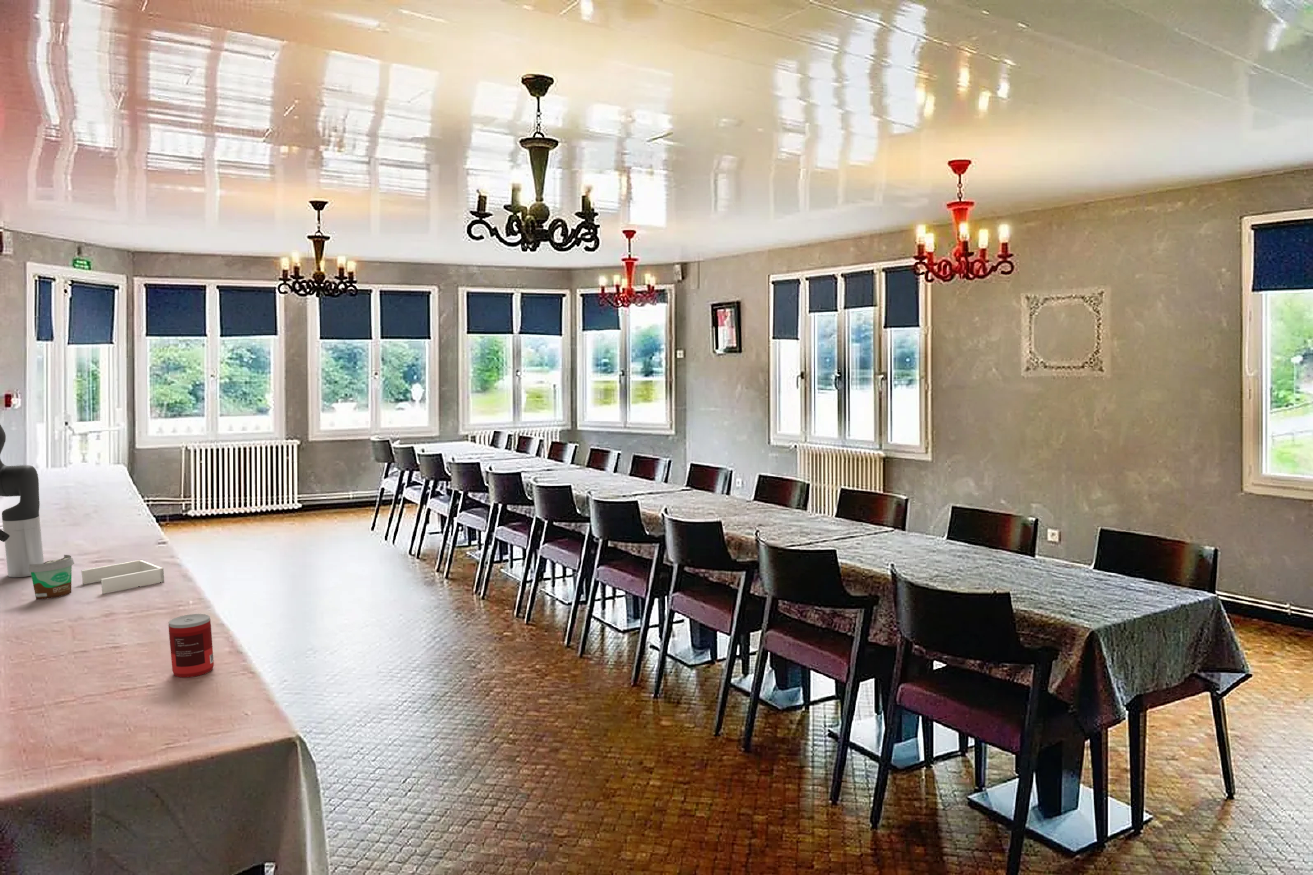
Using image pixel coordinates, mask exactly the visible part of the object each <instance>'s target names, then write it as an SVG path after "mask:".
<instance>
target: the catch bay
mask: <svg viewBox="0 0 1313 875" xmlns="http://www.w3.org/2000/svg"><path fill="white" fill-rule="evenodd" d="M81 578H82V580H81V581H82V585H87V584H88V585H89V584H92V583H97V582H98V583H99V582H100V584H101V594H103V595H104V594H109V593H114V592H120V591H125V590H129V589H135V588H139V587H138V586H140V587H145V586H150V585H151V586H152V585H155V584H161V583H165V575H164V567H161V566H159V565H156V564H154V563H151V562H147V561H145V560H142V559H138V560H132V561H127V562H122V563H116V564H109V565H104V566H98V567H94V568H88V569H87V568H86V569H82V570H81ZM160 582H161V583H160Z"/></svg>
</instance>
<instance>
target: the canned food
mask: <svg viewBox="0 0 1313 875" xmlns="http://www.w3.org/2000/svg"><path fill="white" fill-rule="evenodd" d="M211 622H212V621H211V616H210V615H208V614H205V613H191V614H184V615H181V616H177V617H174V618H171V619H170V620H169V621H168V625H167V626H168V636H169V648H170V659H171V670H172V673H173V675H174V676H175V677H177V678H187V679H188V678H195V677H200V676H203V675H206V674H208V673H210V672H211V671H212V670H213V668H214V664H215V663H214V662H215V661H214V650H213V648H214V647H213V635H212V624H211Z"/></svg>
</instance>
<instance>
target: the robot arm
mask: <svg viewBox="0 0 1313 875" xmlns="http://www.w3.org/2000/svg"><path fill="white" fill-rule="evenodd" d="M6 436H7V435H6V431H5V430H4V428H3V427H2V424H0V455H1V453H2V451H3V449H4V446H5V444H6V440H7V438H6ZM39 479H40V478H39V474H38V471H37V469H36V467H34V466H33V465H29V464H26V465H25V464H23V465H21V464H20V465H5V464H4V463H3V461H2V459H1V458H0V497H5V498H6V497H9V498H11V497H19V502H18V503H17V504H15V505H14V506H11V507H9V508H6V509H4V510H2V511H1V520H2V529H3V530H2V529H0V541H1V542H3V543H4V548H5V549H4V550H5V560H6V570H7V577H8V578H23V577H32V576H31V572H29V567H30V565H29V564H43V563H45V561H44V550H43V541H42V531H41V530H42V528H41V522H40V521H41V519H40V504H41V503H40V483H39V482H40V481H39Z"/></svg>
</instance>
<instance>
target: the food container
mask: <svg viewBox="0 0 1313 875" xmlns="http://www.w3.org/2000/svg"><path fill="white" fill-rule="evenodd" d="M29 565H30V567H29V572H31V576H30V577H31V580H32V584H33V591H34V596H35V600H36V601H37V600H39V601H40V600H49V599H51V600H52V599H57V598H61V597H62V598H63V597H65V596H68V595H70V594H71V593H72V569H73V568H72V566H73V565H75V561H74V559H73V557H72V555H69V554H63V558H60V559H54V560H47V561H44V563H43V564H29Z"/></svg>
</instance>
